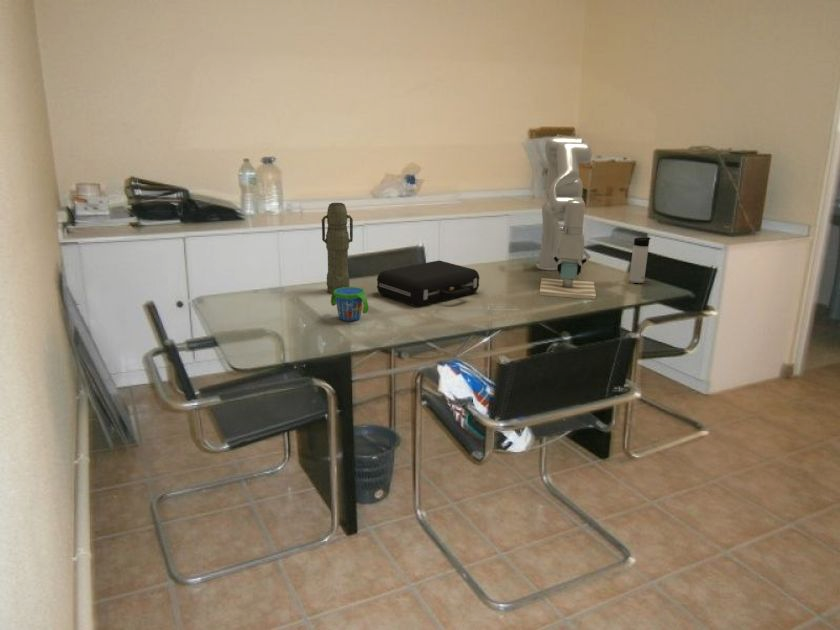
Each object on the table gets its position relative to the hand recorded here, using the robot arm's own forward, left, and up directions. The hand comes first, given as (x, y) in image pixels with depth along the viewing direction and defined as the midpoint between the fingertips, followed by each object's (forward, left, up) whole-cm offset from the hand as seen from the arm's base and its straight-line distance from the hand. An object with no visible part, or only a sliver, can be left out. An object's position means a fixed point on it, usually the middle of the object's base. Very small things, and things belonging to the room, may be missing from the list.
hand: (568, 273), depth 270 cm
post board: (0, 0, -7) cm, 7 cm away
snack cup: (+61, -75, -7) cm, 97 cm away
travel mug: (-22, +30, -7) cm, 38 cm away
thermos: (+29, -90, -7) cm, 95 cm away
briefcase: (+23, -52, -8) cm, 58 cm away
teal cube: (0, 0, -1) cm, 1 cm away
